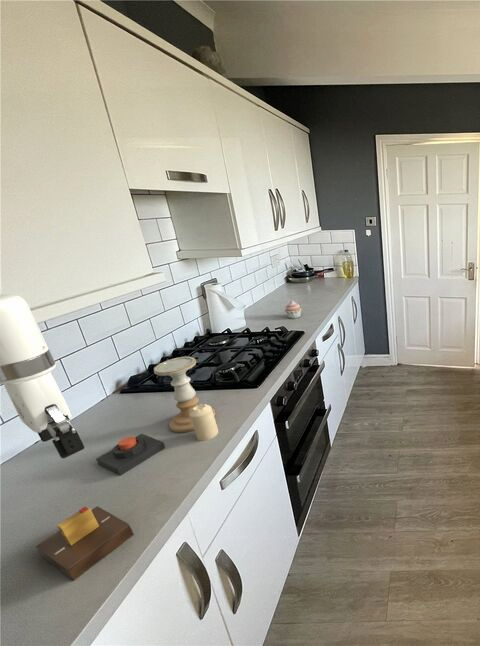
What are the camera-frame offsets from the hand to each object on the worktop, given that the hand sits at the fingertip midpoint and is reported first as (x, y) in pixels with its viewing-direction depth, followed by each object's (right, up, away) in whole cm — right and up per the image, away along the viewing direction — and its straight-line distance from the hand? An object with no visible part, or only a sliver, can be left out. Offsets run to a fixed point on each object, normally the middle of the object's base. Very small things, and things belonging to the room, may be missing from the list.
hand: (63, 445), depth 66 cm
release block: (-11, -13, +29) cm, 34 cm away
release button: (-12, -10, +28) cm, 31 cm away
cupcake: (-8, +27, +133) cm, 136 cm away
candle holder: (-5, -8, +43) cm, 44 cm away
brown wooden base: (0, -22, +5) cm, 23 cm away
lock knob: (0, -19, +4) cm, 20 cm away
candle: (+4, -10, +37) cm, 38 cm away
